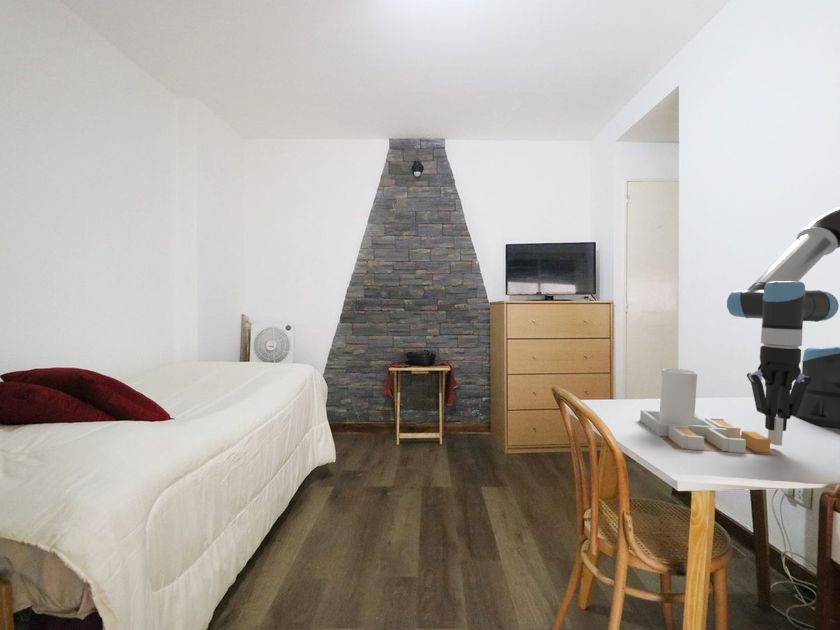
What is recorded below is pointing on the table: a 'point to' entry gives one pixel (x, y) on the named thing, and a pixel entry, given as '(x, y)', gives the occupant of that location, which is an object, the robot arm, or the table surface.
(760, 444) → the block
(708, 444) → the panel
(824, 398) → the robot arm
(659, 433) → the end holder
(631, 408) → the table surface
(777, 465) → the table surface
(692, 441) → the side clips
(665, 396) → the cup
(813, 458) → the table surface
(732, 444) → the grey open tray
